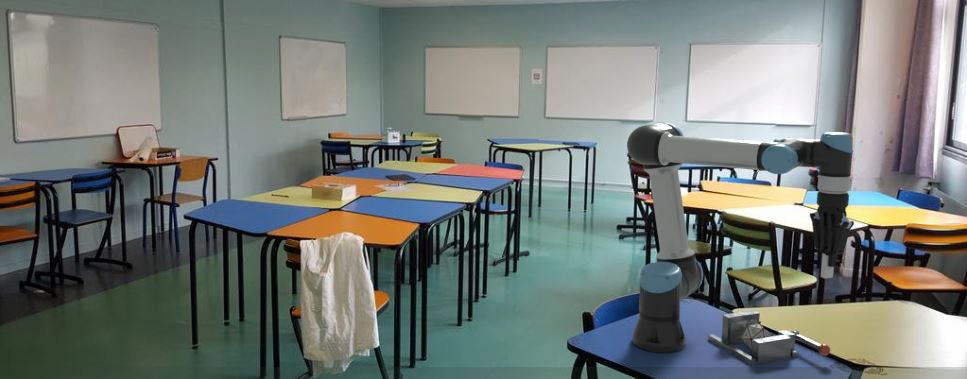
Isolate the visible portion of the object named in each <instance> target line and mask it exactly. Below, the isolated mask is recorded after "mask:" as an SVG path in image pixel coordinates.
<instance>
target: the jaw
mask: <svg viewBox="0 0 967 379" xmlns="http://www.w3.org/2000/svg"><path fill="white" fill-rule="evenodd" d="M760 315H761V314H760V312H758V311H757V310H746V311H745V310H744V311H740V312H732V313H727V314H722V325H721V326H722V327H721V339H722V340H724V341H725V342H727V343H729V344H731V345H735V344H742V343H744V342H743V341H742V340H738V339H739V338H742V335H743V333H744V331H745V329H744V328H746V327H747V326H746V324H747V325H748V326H749V325H755V324H759V322H760Z"/></svg>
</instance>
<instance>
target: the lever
mask: <svg viewBox="0 0 967 379" xmlns="http://www.w3.org/2000/svg"><path fill="white" fill-rule="evenodd" d="M790 332H792V333H794V334H795V341H796V340H797V341H799V342H801V343H803V344H805V345H808V346H809V347H811V348H814V349H815V350H817V351H818V353H819V354H820V355H822V356H828V355H830V354H831V347H830V346H829V345H828V344H825V343H822V344H820V343H818V342H816V341H814V340H812V339H810V338H808V337H805V336H803V335H801V334H800V331H798V330H792V331H790Z"/></svg>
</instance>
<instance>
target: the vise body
mask: <svg viewBox="0 0 967 379" xmlns="http://www.w3.org/2000/svg"><path fill="white" fill-rule="evenodd" d="M707 340H708V341H710V342H712V343H713V344H715V345H717V346H719V347H720V348H722V349H723V350H725V351H727V352H728V353H730V354H732V355H733V356H735V357H737V358H739V359H741V360H742V361H744V363H746V364H749V365H752V366H753V365H757V364H764V362H765V363H770V362H774V361H775V362H776V361H780V360H787V359H790V358H797V357H798V352H797V351H796V350H795V344H796V340H795V334H794V333H792V332H791V331H790V330H787V329H784V330H777V335H774V336H771V337H767V338H761V339H755V340H753V344H752V350H751V351H752V353H751V355H750V354H748V353H746V352H745V351H742V350H741V349H739V348H737V347H736V346H734V345H733V344H729V343H727V342H725V341H724V340H722V338H720V337H718V336H717V335H715V334H713V333H712V334H708V338H707Z"/></svg>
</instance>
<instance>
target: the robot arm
mask: <svg viewBox="0 0 967 379" xmlns="http://www.w3.org/2000/svg"><path fill="white" fill-rule="evenodd" d="M853 139H854V138H853V135H852V134H850V133H848V132H840V131H839V132H838V131H834V132H833V131H826V132H822V134H821V136H820V139H818V138H817V139H812V138H811V139H810V138H809V139H807V138H792V137H791V138H790V137H777V138H775V139H774V140H773V141H758V140H742V139H740V140H739V139H728V138H714V137H713V138H711V137H700V136H698V137H695V136H684V134H683V132H682V131H681V129H680V128H679V127H677V125H675V124H673V123H670V122H656V123H652V124H647V125H646V124H644V125H642V126H639V127H637V128H635V129H634V130H632V132H631V133H630V135H629V136H628V139H627V142H626V150H627V153H628V155H629V156H630V158H631V159H632V160H633V161H635V162H636V163H638V164H640V165H642V167H643V171H644V172H646V173H647V174H648V175H649V181H650V190H651V195H652V202H653V210H654V215H655V223H656V230H657V236H658V244H659V252H658V253H657V254H656V256H655V258H656V261H655V262H651V263H648V264H646V265H644V266H643V267H642V268H641V271H640V275H639V282H638V283H639V301H638V302H639V304H638V305H639V306H638V308H639V309H638V311H639V313H638V319H637V322H636V324H635V326H634V330H633V332H632V343H633V342H634V343H635V344H636V345H637V346H639V347H641V348H643V349H642V350H644V349H646V350H645V351H647V350H649V351H648V352H653V353H662V354H663V353H675V352H679V351H681V350H682V349H684V348H685V346H686V337H685V333H684V329H683V326H682V322H681V319H680V318H681V317H680V316H681V315H680V314H681V301H683V300H684V299H685V298H687V297H688V296H690V295H692V294H694V293H695V292H697V290H698V289H699V288H700V286H701V285H702V283H703V280H704V271H703V267H702V265H701V263H700V262H699V261H698V260H697V259H696V258H697V257H696V252H695V251H694V250H693V249H692V248H690V247H689V240H688V232H687V227H686V226H687V225H686V219H685V210H684V205H683V204H684V203H683V197H682V191H681V190H682V189H681V184H680V176H679V170H680V168H681V167H682V165H683V164H686V165H696V166H697V165H698V166H709V167H719V168H720V167H723V168H731V169H732V168H733V169H744V170H757V171H763V172H768V173H770V174H774V175H783V174H787V173H789V172H791V171H792V170H794V169H795V168H796V169H797V168H798V167H799V168H801V167H802V168H813V169H814V168H815V169H817V168H818V178H817V179H818V180H817V181H818V182H817V189H818V190H817V192H816V194H817V195H816V204H817V206H818V207H817V209H816V211H815V212H810V213H809V218H810V220H811V223H812V233H813V234H812V235H813V241H814V242H813V243H814V248H815V249H816V250H819V252H820V264H821V268H820V278H822V279H832V278H834V269H835V268H834V267H836V264H837V262H836V261H837V256H838V255H843V254H844V252H845V249H846V246H847V241H848V239H849V236H850V232H851V229H852V228H853V227H854V225H855V222H854V221H853V220H850V219H849V218H848V217H847V211H846V210H847V208H848V207H849V201H850V193H849V191H850V185H851V172H852V162H853V152H854V150H853V146H854V144H853V142H854V141H853ZM634 343H633V344H634ZM635 344H634V345H635ZM636 345H635V346H636ZM637 346H636V347H637ZM639 347H638V348H639ZM641 348H640V349H641Z"/></svg>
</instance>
